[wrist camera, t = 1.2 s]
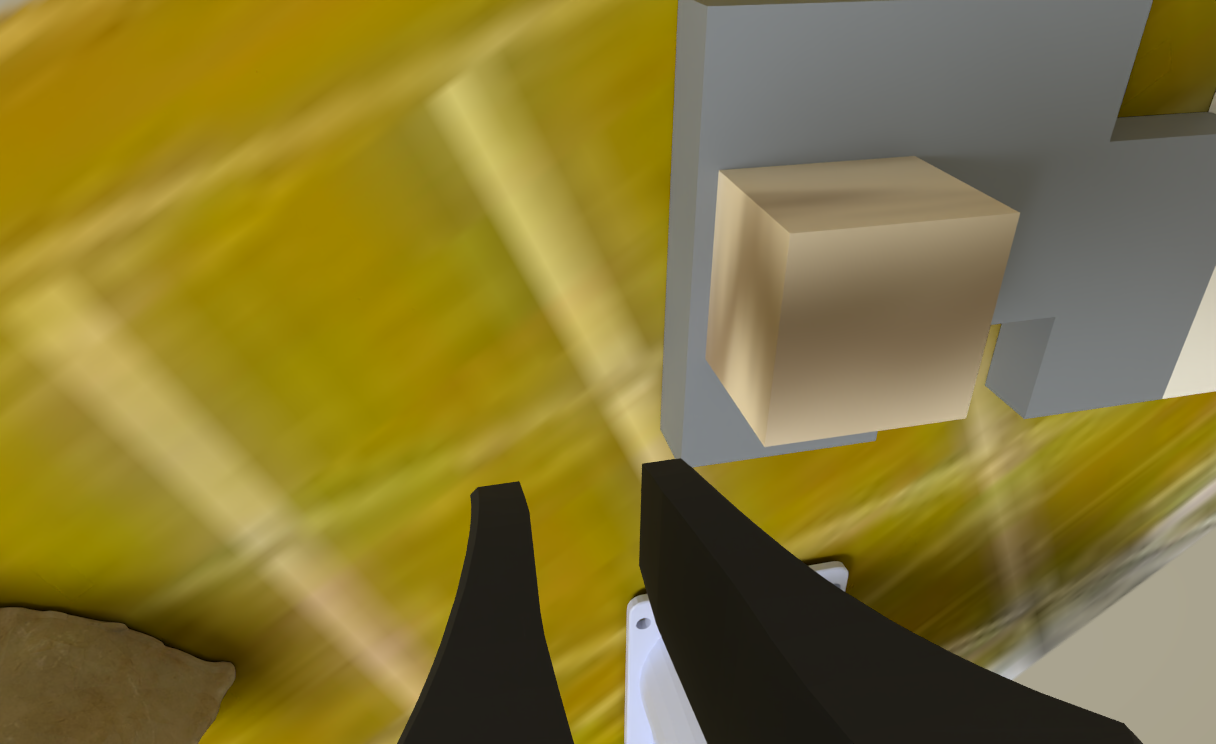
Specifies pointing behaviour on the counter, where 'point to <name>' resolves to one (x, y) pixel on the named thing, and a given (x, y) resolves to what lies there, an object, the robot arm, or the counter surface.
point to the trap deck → (973, 153)
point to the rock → (100, 683)
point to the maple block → (852, 294)
